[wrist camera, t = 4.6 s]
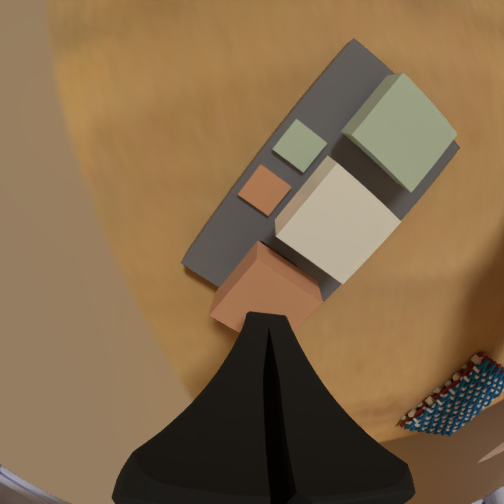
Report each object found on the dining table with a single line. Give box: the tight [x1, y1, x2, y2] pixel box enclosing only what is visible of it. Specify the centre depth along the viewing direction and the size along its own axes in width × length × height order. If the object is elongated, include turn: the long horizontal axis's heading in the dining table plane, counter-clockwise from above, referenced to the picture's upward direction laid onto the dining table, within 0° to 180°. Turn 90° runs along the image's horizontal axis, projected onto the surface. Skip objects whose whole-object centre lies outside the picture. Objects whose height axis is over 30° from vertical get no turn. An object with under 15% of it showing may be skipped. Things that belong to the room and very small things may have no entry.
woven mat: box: [400, 352, 504, 436], centre depth 21 cm, size 10×11×2 cm
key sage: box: [341, 72, 457, 192], centre depth 10 cm, size 3×3×3 cm
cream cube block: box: [275, 156, 401, 284], centre depth 11 cm, size 3×3×3 cm
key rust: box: [209, 241, 323, 333], centre depth 13 cm, size 3×3×3 cm
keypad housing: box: [181, 39, 460, 302], centre depth 13 cm, size 7×13×1 cm, turn 144°
